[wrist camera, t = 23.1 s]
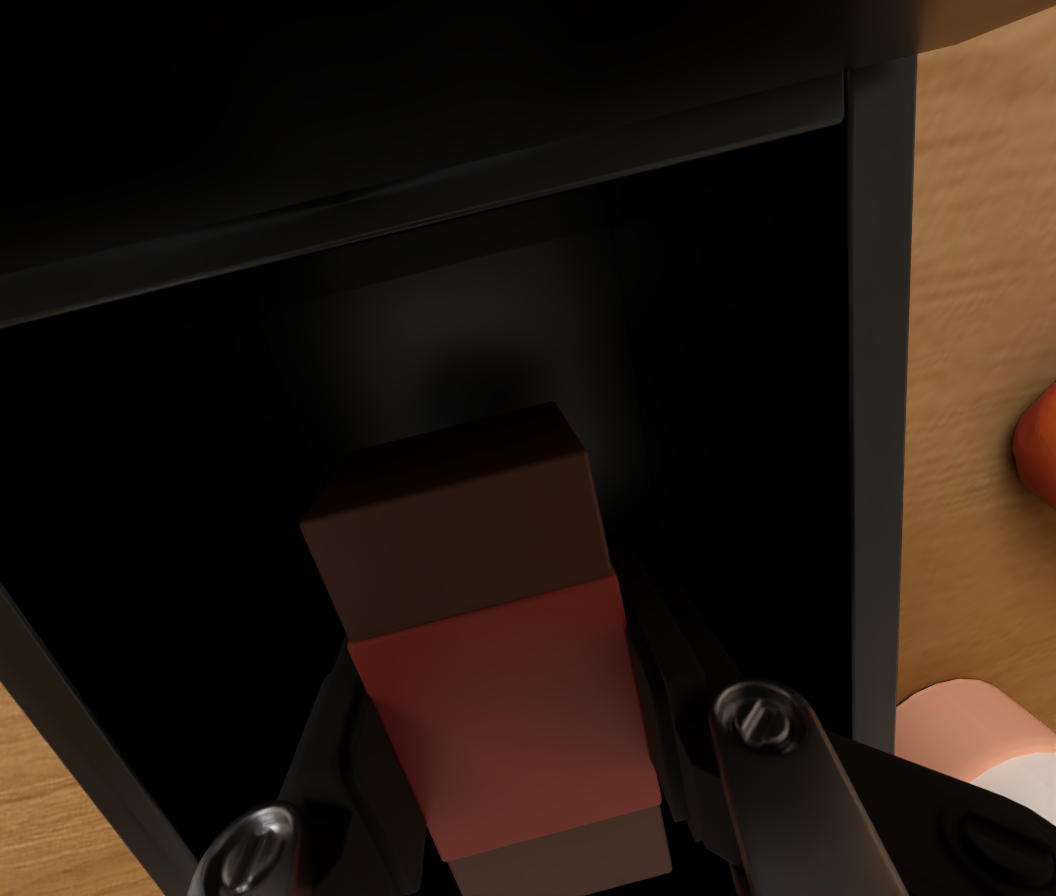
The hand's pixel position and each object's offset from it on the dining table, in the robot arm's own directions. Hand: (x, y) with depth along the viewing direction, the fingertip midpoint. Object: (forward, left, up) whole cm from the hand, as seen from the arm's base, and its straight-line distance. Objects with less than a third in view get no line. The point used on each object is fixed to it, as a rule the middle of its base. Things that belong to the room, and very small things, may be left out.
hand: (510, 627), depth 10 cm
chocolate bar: (0, 0, -1) cm, 1 cm away
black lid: (-5, +5, +11) cm, 13 cm away
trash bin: (-1, +1, -8) cm, 8 cm away
